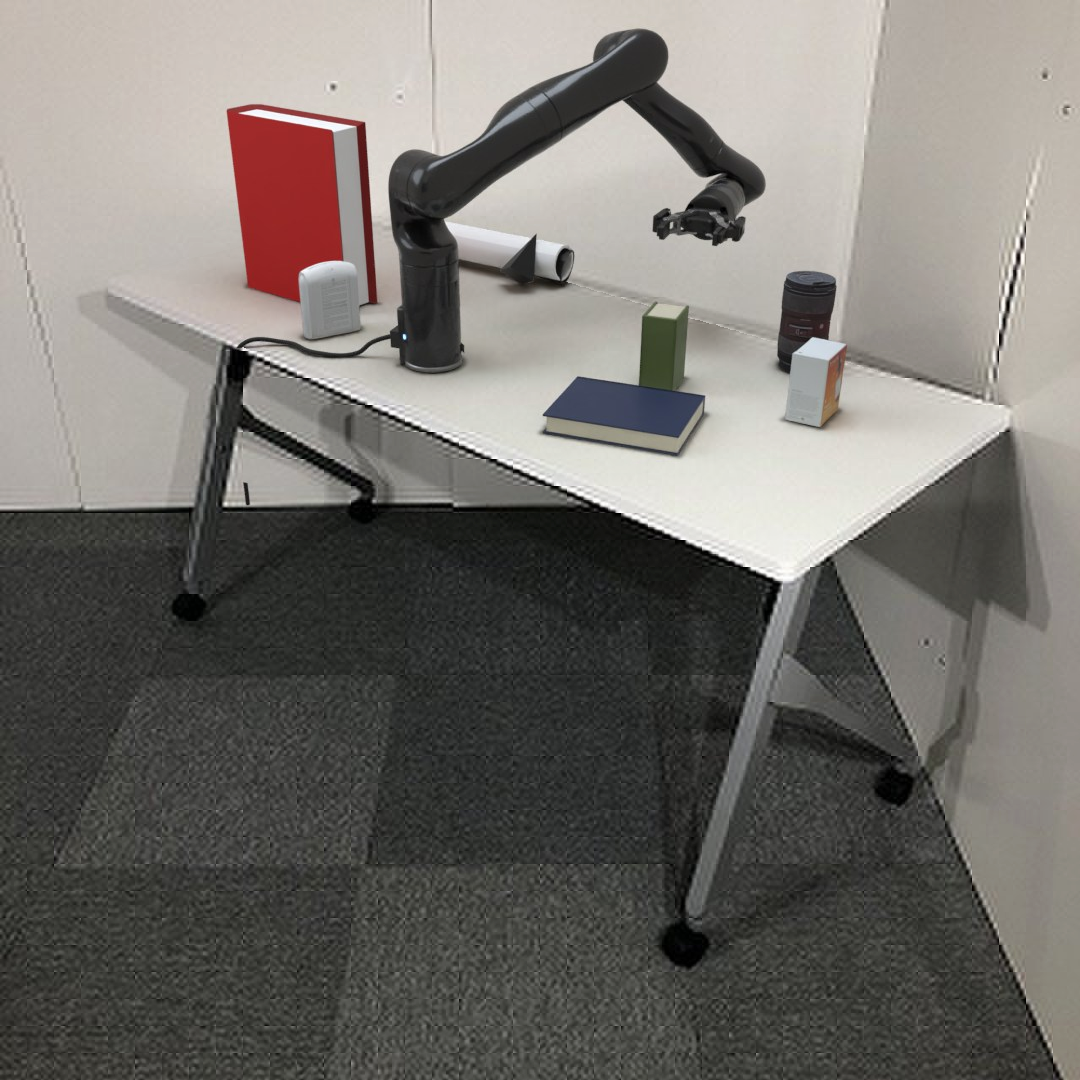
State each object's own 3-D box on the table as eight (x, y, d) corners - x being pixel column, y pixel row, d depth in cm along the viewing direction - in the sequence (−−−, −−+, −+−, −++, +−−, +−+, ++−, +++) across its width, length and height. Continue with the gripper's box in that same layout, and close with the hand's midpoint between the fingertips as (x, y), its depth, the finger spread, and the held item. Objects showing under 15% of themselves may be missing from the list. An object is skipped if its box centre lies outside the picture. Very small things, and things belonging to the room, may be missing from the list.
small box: (820, 428, 174) (829, 360, 168) (783, 420, 176) (791, 352, 171) (839, 409, 180) (848, 343, 174) (803, 401, 182) (812, 335, 177)
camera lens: (835, 371, 192) (848, 280, 185) (794, 380, 189) (806, 288, 182) (804, 354, 199) (816, 266, 191) (764, 362, 196) (774, 273, 188)
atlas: (542, 433, 172) (542, 414, 171) (577, 394, 184) (577, 376, 183) (677, 455, 166) (678, 436, 164) (704, 414, 178) (705, 395, 177)
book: (377, 303, 219) (365, 122, 203) (346, 315, 214) (331, 129, 198) (274, 275, 233) (255, 103, 217) (243, 285, 228) (221, 110, 212)
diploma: (424, 270, 247) (389, 243, 235) (440, 228, 247) (405, 199, 235) (568, 302, 230) (537, 275, 218) (584, 257, 230) (554, 227, 219)
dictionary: (638, 389, 186) (642, 315, 180) (651, 373, 191) (655, 301, 185) (672, 394, 184) (677, 320, 178) (683, 378, 190) (689, 305, 184)
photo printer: (354, 323, 210) (348, 254, 204) (365, 330, 207) (360, 260, 201) (299, 334, 206) (292, 264, 199) (310, 342, 202) (303, 271, 196)
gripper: (673, 184, 200) (645, 207, 187) (757, 192, 195) (735, 217, 182) (670, 229, 203) (642, 255, 190) (752, 238, 199) (730, 265, 186)
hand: (687, 236), depth 186 cm, fingers open, 8 cm apart
